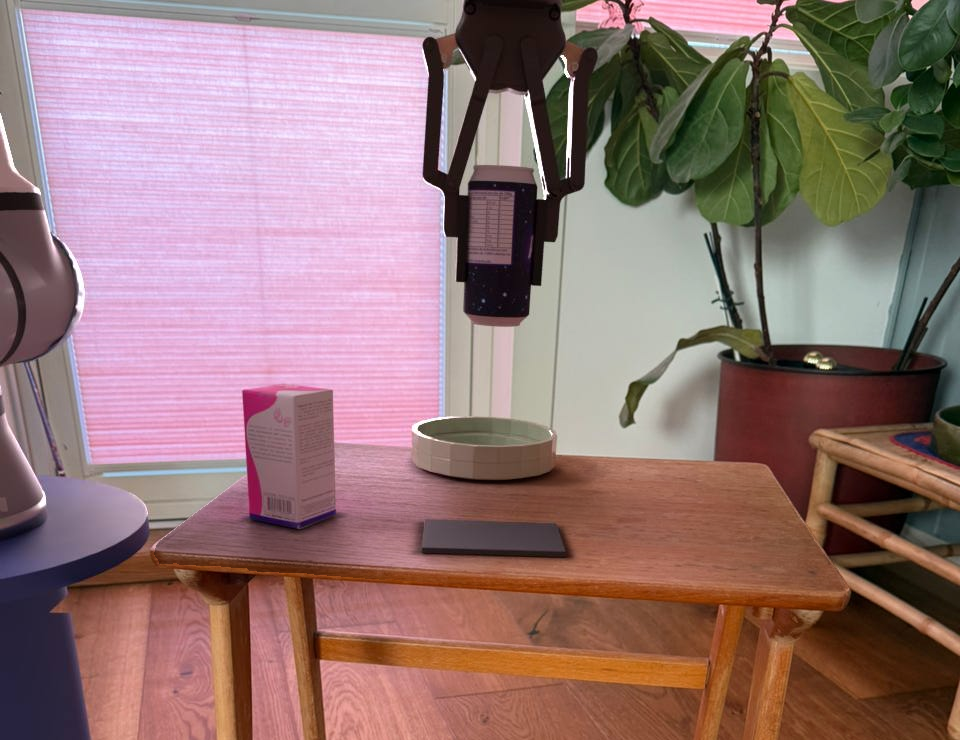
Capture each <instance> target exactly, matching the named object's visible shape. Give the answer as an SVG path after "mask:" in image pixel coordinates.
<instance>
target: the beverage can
mask: <svg viewBox="0 0 960 740" xmlns="http://www.w3.org/2000/svg"><path fill="white" fill-rule="evenodd" d="M472 168H473V169H472V170H473V172H472V174H471V176H470V178H469V180H468V182H467V190H466V191H467V193H466V195H468V219H467V245H466V272H465V282H463V304H462V311H463V313H464V314H465V316H466V317H467V318H468V319H469V320H470V322H471V324H473V325H478V326H483V327H496V328H497V327H498V328H499V327H501V328H510V327H511V328H512V327H519V326H521V323H522V322H524V320H525V319H526V318H528V317H529V315H530V308H531V293H532V285H531V279H532V264H533V248H534V233H535V218H536V203H537V199H538V189H539V188H538V184H537V182H536V179H535V176H534V172H535V169H534V168H533V167H527V166H517V165H516V166H515V165H503V164H502V165H501V164H475V165H473V167H472Z"/></svg>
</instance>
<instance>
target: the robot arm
mask: <svg viewBox="0 0 960 740" xmlns="http://www.w3.org/2000/svg"><path fill="white" fill-rule="evenodd" d="M461 2H462V5H461V16H460V20H459V22H458V23H457V25H456V28H455V31H454V33H450V34H448V35H444V36H441V37H437V38H435V37H432V36H428V37H426V38H424V39H423V41H422V43H421V45H422V57H423V60H424V65H425V68H426V72H427V77H428V79H427V81H428V82H427V94H426V109H425V110H426V113H425V127H424V143H423V159H422V179H423V181H424V182H425V183H426V184H427V185H430V186H432V187H434V188H436V189H438V190H440V192H441V193H442V195H443V220H442V221H443V226H442V230H443V234H444V237H445V238H456V244H455V245H456V246H455V247H456V248H455V277H454V280H455V283H464V282H465V272H466V245H467V219H468V195H467V194H460V191H461V189H460V187H461V184H462V181H463V178H464V174H465V171H466V168H467V166H468V165H467V164H468V163H469V162H468V161H469V158H470V155H471V151H472V148H473V144H474V141H475V138H476V135H477V132H478V128H479V125H480V122H481V118H482V115H483V111H484V110H485V105H486V103H487V99H488V97H489V96H488V95H489V94H501V93H505V92H508V93H510V94H512V95H516V96H523V97H524V101H525V107H526V110H527V115H528V120H529V124H530V129H531V134H532V140H533V145H534V150H535V155H536V160H537V166H538V170H539V175H540V181H541V186H542V191H543V199H542V198H537V203H536V218H535V233H534V248H533V264H532V279H531V287H532V286H533V287H542V281H543V268H544V267H543V265H544V252H545V243H556V241H557V238H558V236H559V223H560V211H561V203H562V200H563V199H564V198H565V197H566V196H569V195H571V194H574V193H577V192H581V190H583V189H584V187H585V184H586V160H587V137H588V113H589V92H590V91H589V88H590V83H591V78H592V76H593V73H594V70H595V67H596V64H597V62H598V58H599V54H598V51H597V49H596V48H594V47H591V46H589V47H586V48H584V47H581V46H579V45H577V44H575V43H573V42H570V41H569V40H567V37H566V33H565V31H564V28H563V23H562V8H563V7H562V5H563V0H462V1H461ZM457 51H458V52H459V54H460V56H461V58H462V59H463V61H464V63H465V65H466V67H467V68H468V70H469V72H470V74H471V75H472V77H473V79H474V83H473V87H472V91H471V94H470V96H469V101H468V104H467V108H466V111H465V114H464V118H463V120H462V124H461V128H460V131H459V133H458V138H457V140H456V141H457V142H456V144H455V145H456V146H455V148H454V151H453V154H452V157H451V161H450V165H449V167H448V171H447V173H446V172H444V171H442V170H439V160H440V148H441V147H440V146H441V145H440V144H441V132H442V118H443V117H442V116H443V102H444V85H445V71H448V70H449V69H450V68H451V66H452V62H453V61H452V59H453V55H454V53H455V52H457ZM559 58H561V59H562V60H563V62H564V74H565V76H566V78H568V79H570V83H569V90H568V108H567V109H568V110H567V136H566V137H567V138H566V139H567V141H566V165H565V167H566V169H565V178H562V179H561V178H560V176H561V175H560V171H559V166H558V159H557V155H556V150H555V144H554V140H553V134H552V128H551V123H550V118H549V117H550V116H549V112H548V107H547V100H546V99H547V98H546V91H545V86H544V79H545V78H546V77H547V75H548V74H549V72H550V71H551V70H552V68H553V66H555V64H556V62H557V61H558V60H559ZM84 304H85V285H84V280H83V276H82V272H81V269H80V267H79V265H78V262H77V260H76V258H75V256H74V255H73V253H72V252H71V250H70V249H69V247H68V246H67V245H66V243H64V242H63V241H62V240H61V239H60V238H59V237H58V236H57V234H55V233H54V232H53V231H51V229H50V226H49V221H48V217H47V213H46V210H45V206H44V202H43V198H42V194H41V191H40V188H38V187H37V186H35V184H33V183H32V182H31V181H29V180H28V179H26V178H25V177H24V176H23V175H21V174H20V172H18V170H17V169H16V167H15V165H14V162H13V157H12V154H11V150H10V146H9V142H8V138H7V134H6V131H5V125H4V122H3V119H2V115H1V114H0V368H3V367H6V366H10V365H15V364H21V363H25V364H26V363H30V362H34V361H36V360H38V359H40V358H42V357H45V356H46V355H48V354H49V353H51V352H52V351H54V350H55V349H57V348H59V347H60V346H62V345H63V344H64V343H66V342H67V340H68V339H69V338H70V337H71V336H72V335H73V333H74V331H75V330H76V329H77V327H78V325H79V323H80V321H81V318H82V314H83V310H84ZM35 475H36V474H35V472H34V470H33V467H31V465H30V463H29V461H28V459H27V457H26V455H25V453H24V452H23V450H22V448H21V446H20V444H19V442H18V441H17V438H16V437H15V435H14V433H13V431H12V429H11V427H10V424H9V422H8V419H7V414H6V407H5V402H4V397H3V391H2V385H1V383H0V541H4V540H8V539H11V538H14V537H17V536H20V535H22V534H25V533H27V532H29V531H31V530H33V529H35V528H37V527H38V526H40V525H41V524H42V523H43V522H44V521H45V520H46V519H47V517H48V512H47V506H46V500H45V494H44V492H43V490H42V487H41V485H40V483H39V482H38V480H37V478H36V476H35Z"/></svg>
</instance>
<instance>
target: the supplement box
mask: <svg viewBox="0 0 960 740" xmlns="http://www.w3.org/2000/svg"><path fill="white" fill-rule="evenodd" d="M241 395H242V396H241V397H242V398H241V399H242V412H243V426H244V446H245V463H246V478H247V480H246V481H247V495H248V497H247V498H248V512H249V514H248V515H249V519H250V520H253V521H257V522H262V523H268V524H272V525H277V526H282V527H286V528H291V529H295V530H301V529H304V528H306V527H309V526H311V525H314V524H316V523H318V522H321V521H324V520H327V519H330V518H331V517H333V516H336V514H337V499H336V497H337V496H336V465H335V463H336V462H335V461H336V460H335V459H336V458H335V423H334V422H335V420H334V419H335V418H334V390H333V389H329V388H321V387H315V386H314V387H313V386H305V385H297V384H289V383H278V384H272V385H266V386H260V387H253V388H245V389H242V391H241Z"/></svg>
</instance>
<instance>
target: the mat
mask: <svg viewBox="0 0 960 740" xmlns="http://www.w3.org/2000/svg"><path fill="white" fill-rule="evenodd" d="M421 543H422V544H421V553H422V554H443V555H475V556H476V555H478V556H479V555H481V556H511V557H512V556H514V557H518V556H520V557H542V558H543V557H544V558H545V557H546V558H548V557H549V558H566V557H567V550H566V548H565V545H564V542H563V539H562V537H561V533H560V531H559V528H558V524H557V523H556V522H530V521H529V522H527V521H499V520H497V521H496V520H466V519H464V520H463V519H462V520H461V519H432V518H431V519H430V518H429V519H428V518H427V519H426V518H425V519H424V522H423V533H422V541H421Z"/></svg>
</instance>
